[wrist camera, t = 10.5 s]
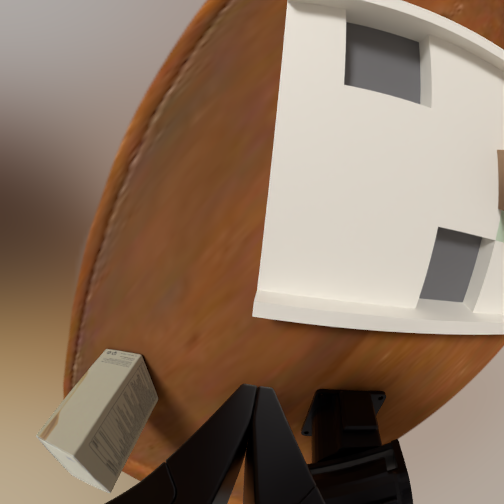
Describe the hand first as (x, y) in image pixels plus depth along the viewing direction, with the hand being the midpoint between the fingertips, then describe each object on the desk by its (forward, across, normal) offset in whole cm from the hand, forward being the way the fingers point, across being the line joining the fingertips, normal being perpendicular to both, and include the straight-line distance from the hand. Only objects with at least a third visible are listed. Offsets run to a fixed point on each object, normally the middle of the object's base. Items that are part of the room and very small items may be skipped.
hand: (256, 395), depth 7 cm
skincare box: (+12, +12, +14) cm, 22 cm away
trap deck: (+12, -10, -8) cm, 17 cm away
